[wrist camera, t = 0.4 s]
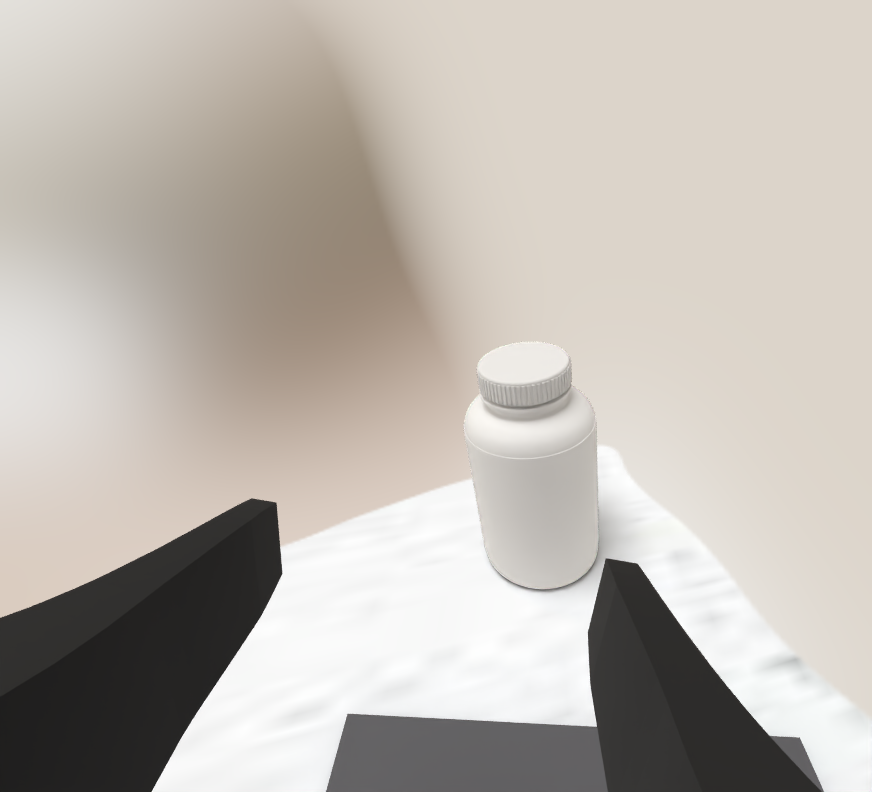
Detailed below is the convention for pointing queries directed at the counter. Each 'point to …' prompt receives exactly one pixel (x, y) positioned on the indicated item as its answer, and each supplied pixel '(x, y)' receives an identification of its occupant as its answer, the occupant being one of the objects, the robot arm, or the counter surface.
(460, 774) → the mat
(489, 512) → the pill bottle
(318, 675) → the counter surface
